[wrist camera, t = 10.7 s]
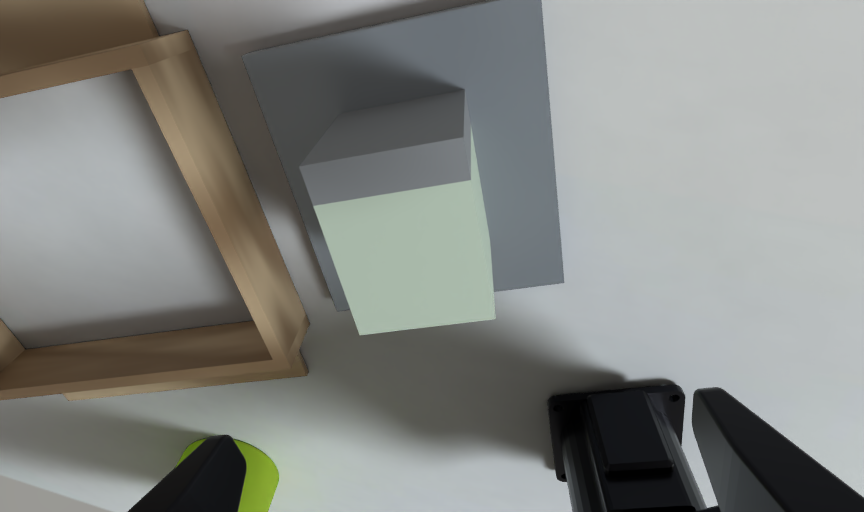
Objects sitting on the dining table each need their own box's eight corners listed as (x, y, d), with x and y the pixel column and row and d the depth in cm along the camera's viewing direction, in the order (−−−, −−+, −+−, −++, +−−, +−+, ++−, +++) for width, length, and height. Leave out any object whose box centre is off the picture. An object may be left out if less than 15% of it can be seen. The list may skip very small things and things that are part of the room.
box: (489, 240, 20) (495, 319, 16) (382, 255, 21) (359, 335, 17) (465, 89, 17) (463, 137, 13) (339, 113, 18) (299, 166, 14)
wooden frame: (328, 369, 26) (313, 416, 23) (55, 398, 28) (13, 443, 26) (145, -72, 16) (83, -75, 13) (-247, 34, 18) (-361, 48, 16)
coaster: (561, 272, 22) (564, 282, 21) (340, 300, 23) (337, 311, 23) (537, -11, 16) (540, -9, 15) (250, 52, 18) (241, 56, 17)
